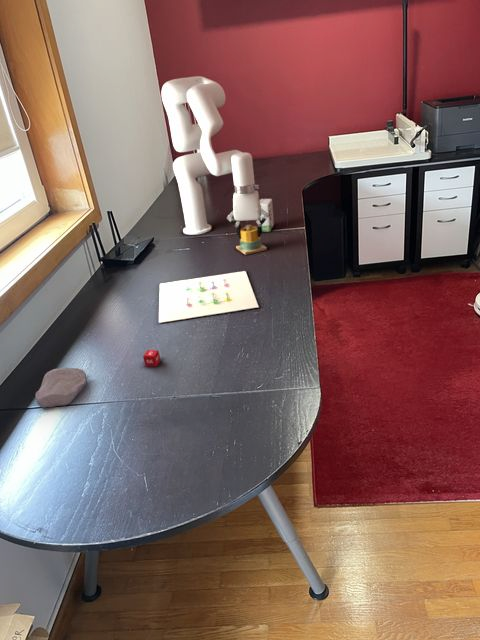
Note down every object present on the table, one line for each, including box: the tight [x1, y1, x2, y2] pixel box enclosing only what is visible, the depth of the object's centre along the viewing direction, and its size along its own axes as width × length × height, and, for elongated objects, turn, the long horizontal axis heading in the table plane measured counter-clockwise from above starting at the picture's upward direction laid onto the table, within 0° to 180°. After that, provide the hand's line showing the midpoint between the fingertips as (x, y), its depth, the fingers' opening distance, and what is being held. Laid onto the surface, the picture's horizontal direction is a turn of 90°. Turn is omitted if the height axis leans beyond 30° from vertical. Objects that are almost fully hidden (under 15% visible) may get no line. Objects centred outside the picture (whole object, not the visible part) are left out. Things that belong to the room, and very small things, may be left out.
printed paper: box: [158, 270, 259, 324], centre depth 163 cm, size 30×30×2 cm
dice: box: [142, 349, 161, 367], centre depth 129 cm, size 3×3×3 cm
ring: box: [240, 225, 259, 242], centre depth 194 cm, size 7×7×4 cm
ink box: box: [260, 198, 275, 232], centre depth 214 cm, size 9×5×12 cm, turn 168°
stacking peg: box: [235, 224, 268, 256], centre depth 195 cm, size 9×9×9 cm
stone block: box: [35, 367, 87, 409], centre depth 121 cm, size 12×5×10 cm
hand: (250, 235), depth 194 cm, fingers closed on ring, 6 cm apart
